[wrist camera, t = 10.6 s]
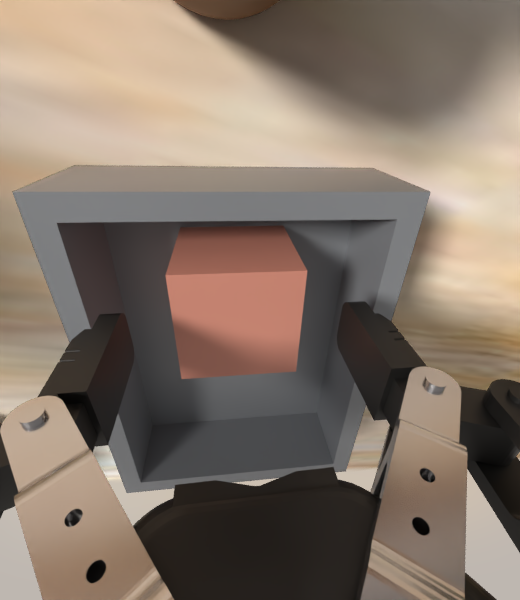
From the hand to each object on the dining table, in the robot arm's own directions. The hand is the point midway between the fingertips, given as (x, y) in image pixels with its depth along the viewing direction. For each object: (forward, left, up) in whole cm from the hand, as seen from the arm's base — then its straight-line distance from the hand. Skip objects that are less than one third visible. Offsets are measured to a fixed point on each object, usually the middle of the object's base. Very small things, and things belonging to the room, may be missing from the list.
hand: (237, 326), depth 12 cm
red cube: (+1, 0, -5) cm, 5 cm away
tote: (+4, 0, -6) cm, 8 cm away
